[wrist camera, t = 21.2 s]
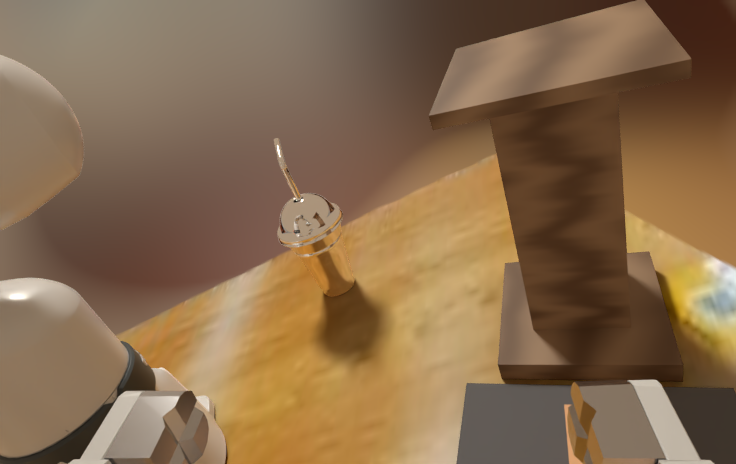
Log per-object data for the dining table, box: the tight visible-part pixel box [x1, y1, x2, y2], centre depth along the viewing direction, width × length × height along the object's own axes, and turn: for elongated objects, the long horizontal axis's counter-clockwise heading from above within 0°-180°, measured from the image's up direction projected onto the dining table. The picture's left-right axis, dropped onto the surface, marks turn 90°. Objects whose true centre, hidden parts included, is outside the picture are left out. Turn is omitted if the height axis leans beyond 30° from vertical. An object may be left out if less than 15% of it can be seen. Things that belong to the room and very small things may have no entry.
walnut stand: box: [429, 0, 691, 382], centre depth 39 cm, size 14×14×26 cm
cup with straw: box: [274, 138, 355, 297], centre depth 58 cm, size 8×9×20 cm
